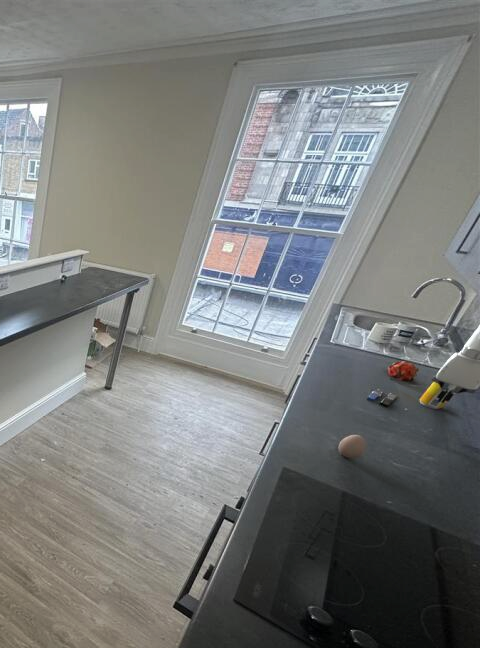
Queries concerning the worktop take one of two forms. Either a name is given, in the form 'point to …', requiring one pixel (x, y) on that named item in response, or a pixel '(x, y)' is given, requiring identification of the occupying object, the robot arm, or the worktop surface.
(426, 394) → the beer can
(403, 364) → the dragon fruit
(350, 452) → the egg
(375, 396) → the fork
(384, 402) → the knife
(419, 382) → the worktop surface
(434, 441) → the worktop surface
